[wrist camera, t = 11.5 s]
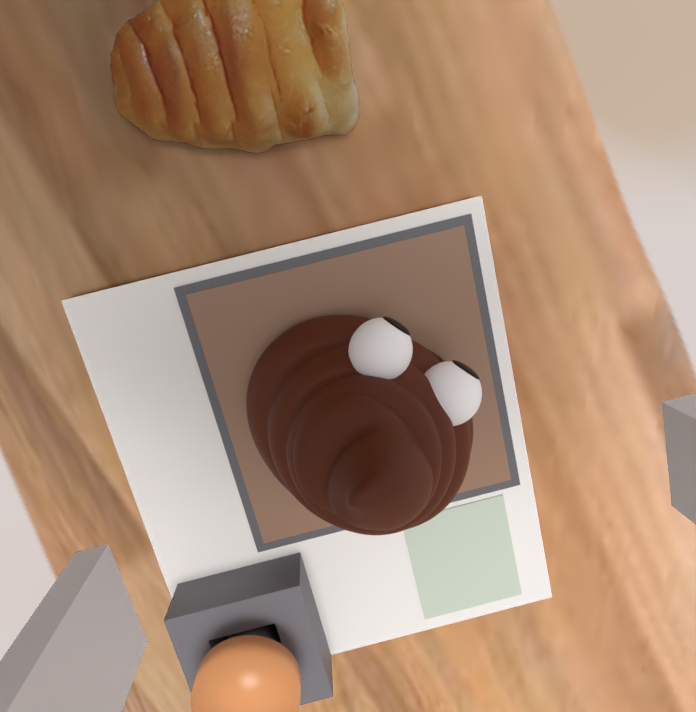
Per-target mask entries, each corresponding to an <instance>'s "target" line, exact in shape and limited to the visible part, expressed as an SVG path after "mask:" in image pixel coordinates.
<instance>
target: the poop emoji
mask: <svg viewBox="0 0 696 712" xmlns="http://www.w3.org/2000/svg"><path fill="white" fill-rule="evenodd" d="M479 379H480V378H479V376H478V374H477V373H476V372H475V371H474V370H472V369H471V368H470V367H468V366H467V365H465V364H463V363H462V362H459V361H457V360H452V361H444V360H443V359H442V358H441V357H439V356H438V355H437V354H435V353H434V352H432V351H430V350H428V349H426V348H425V347H423V346H422V345H420V344H419V343H417V342H415V341H414V340H412V339H411V337H410V332H409V331H408V329H407V328H406V327H404V326H403V325H402V324H401V323H399V322H398V321H396V320H394V319H392V318H390V317H386V316H384V317H383V318H374V319H371V318H366V317H361V316H354V315H329V316H322V317H317V318H313V319H310V320H307V321H304V322H302V323H299V324H297V325H295V326H293V327H292V328H290V329H288V330H287V331H285V332H284V333H282V334H281V335H280V336H279V337H277V338H276V339H275V340H274V341H273V342H272V343H271V344H270V345H269V346H268V347H267V348H266V350H265V351H264V352H263V354H262V355H261V357H260V358H259V360H258V361H257V363H256V365H255V367H254V369H253V372H252V374H251V377H250V381H249V385H248V390H247V399H246V409H247V418H248V424H249V428H250V431H251V435H252V438H253V440H254V443H255V445H256V447H257V449H258V451H259V453H260V455H261V457H262V459H263V460H264V462H265V464H266V465H267V467H268V468H269V469H270V471H271V472H272V473H273V475H274V476H275V477H276V478H277V480H278V481H279V482H280V483H281V484H282V485H283V486H284V487H285V488H286V489H287V490H288V491H289V492H290V493H291V494H292V495H293V496H294V497H295V498H296V499H297V500H298V501H299V502H300V503H301V504H302V505H303V506H304V507H305V508H307V509H308V510H309V511H310V512H312V513H313V514H315V515H316V516H318V517H319V518H321V519H322V520H324V521H326V522H328V523H330V524H332V525H334V526H336V527H339V528H341V529H344V530H347V531H350V532H354V533H358V534H364V535H388V534H393V533H397V532H401V531H404V530H406V529H410V528H413V527H416V526H418V525H421V524H423V523H425V522H427V521H429V520H430V519H432V518H433V517H435V516H436V515H438V514H439V513H440V512H441V511H443V510H444V509H445V508H446V507H447V506H448V504H449V503H450V502H451V501H452V500H453V498H454V497H455V496H456V494H457V492H458V491H459V489H460V487H461V485H462V483H463V481H464V478H465V475H466V472H467V469H468V465H469V460H470V453H471V449H472V443H473V418H472V416H473V415H474V414H475V413H476V412H477V410H478V408H479V406H480V403H481V399H482V388H481V384H480V381H479Z"/></svg>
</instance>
